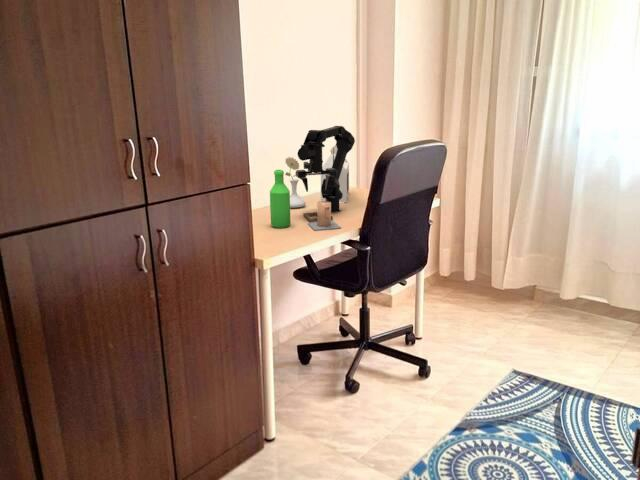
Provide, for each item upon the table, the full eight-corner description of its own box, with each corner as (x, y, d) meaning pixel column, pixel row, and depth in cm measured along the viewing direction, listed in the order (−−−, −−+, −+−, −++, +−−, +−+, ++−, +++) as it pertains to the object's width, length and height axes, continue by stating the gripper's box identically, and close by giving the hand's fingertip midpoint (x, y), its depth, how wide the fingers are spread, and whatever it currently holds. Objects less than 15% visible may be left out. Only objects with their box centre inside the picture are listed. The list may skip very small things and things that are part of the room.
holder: (325, 215, 270) (325, 211, 269) (332, 220, 259) (332, 216, 259) (303, 216, 267) (303, 213, 266) (309, 222, 257) (309, 218, 256)
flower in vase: (310, 207, 286) (309, 157, 279) (291, 210, 280) (289, 160, 272) (296, 202, 296) (295, 154, 289) (277, 205, 290) (275, 156, 283)
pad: (333, 222, 257) (333, 220, 257) (341, 228, 246) (341, 227, 246) (307, 224, 254) (307, 222, 254) (314, 231, 243) (314, 229, 243)
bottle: (268, 224, 254) (266, 169, 247) (286, 222, 257) (284, 167, 250) (274, 229, 246) (272, 172, 239) (293, 227, 250) (291, 170, 242)
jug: (334, 227, 246) (334, 204, 243) (321, 228, 244) (321, 205, 241) (327, 222, 255) (327, 200, 252) (314, 223, 253) (314, 201, 250)
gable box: (325, 194, 316) (324, 143, 308) (349, 194, 314) (349, 143, 306) (321, 203, 295) (320, 149, 287) (346, 203, 293) (346, 149, 285)
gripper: (330, 154, 270) (330, 186, 274) (292, 156, 265) (293, 189, 270) (337, 157, 260) (337, 191, 264) (297, 159, 255) (298, 193, 259)
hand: (316, 191), depth 265 cm, fingers open, 9 cm apart
